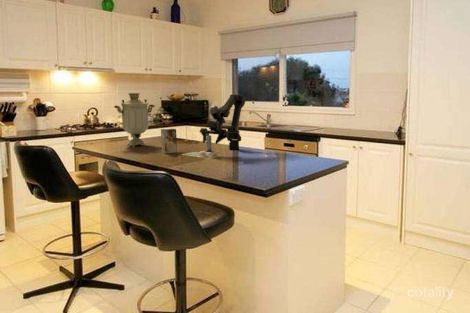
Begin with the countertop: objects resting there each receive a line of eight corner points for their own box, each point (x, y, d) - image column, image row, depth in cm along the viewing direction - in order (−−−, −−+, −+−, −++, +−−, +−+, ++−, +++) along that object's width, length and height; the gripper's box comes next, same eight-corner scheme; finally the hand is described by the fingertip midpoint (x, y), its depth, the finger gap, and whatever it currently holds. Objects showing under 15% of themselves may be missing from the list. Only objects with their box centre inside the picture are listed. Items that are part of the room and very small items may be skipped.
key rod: (211, 155, 254) (211, 135, 252) (211, 156, 251) (211, 136, 249) (206, 155, 254) (206, 135, 252) (206, 156, 251) (206, 136, 249)
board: (223, 157, 253) (223, 151, 253) (210, 160, 244) (210, 153, 243) (194, 153, 269) (193, 147, 269) (181, 155, 260) (180, 149, 260)
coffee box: (174, 151, 280) (173, 128, 277) (177, 152, 274) (176, 129, 271) (161, 152, 276) (160, 129, 273) (164, 153, 270) (163, 130, 267)
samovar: (155, 141, 327) (152, 92, 319) (157, 146, 302) (155, 93, 295) (117, 143, 319) (113, 93, 312) (117, 148, 294) (113, 93, 287)
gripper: (200, 115, 258) (191, 134, 250) (226, 116, 249) (217, 136, 241) (207, 126, 266) (199, 145, 258) (232, 127, 257) (224, 147, 250)
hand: (209, 143), depth 252 cm, fingers open, 9 cm apart
